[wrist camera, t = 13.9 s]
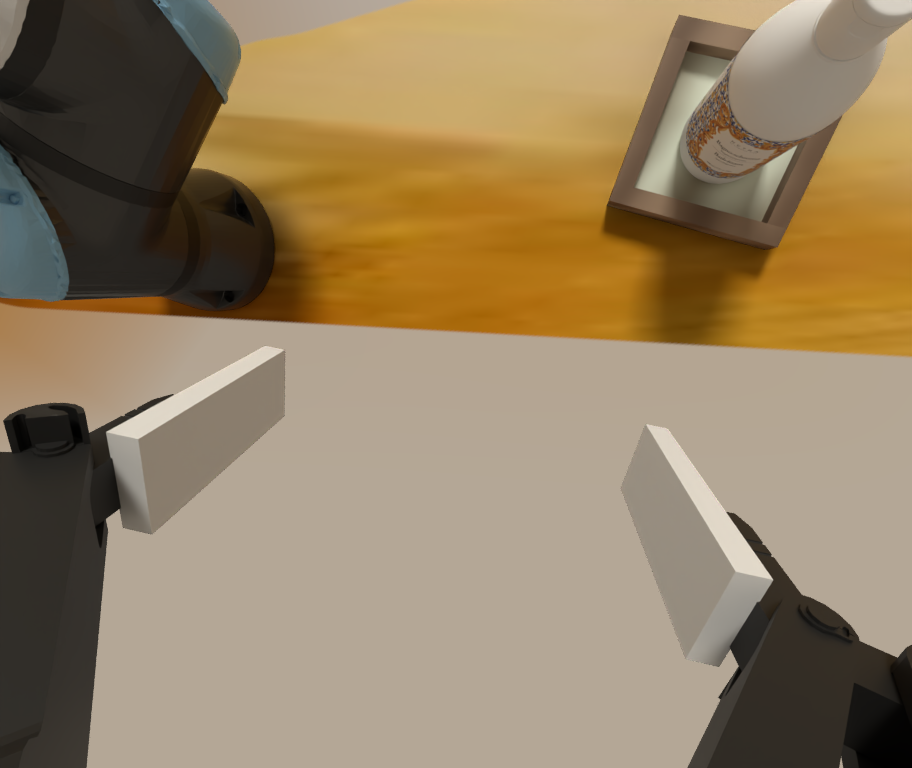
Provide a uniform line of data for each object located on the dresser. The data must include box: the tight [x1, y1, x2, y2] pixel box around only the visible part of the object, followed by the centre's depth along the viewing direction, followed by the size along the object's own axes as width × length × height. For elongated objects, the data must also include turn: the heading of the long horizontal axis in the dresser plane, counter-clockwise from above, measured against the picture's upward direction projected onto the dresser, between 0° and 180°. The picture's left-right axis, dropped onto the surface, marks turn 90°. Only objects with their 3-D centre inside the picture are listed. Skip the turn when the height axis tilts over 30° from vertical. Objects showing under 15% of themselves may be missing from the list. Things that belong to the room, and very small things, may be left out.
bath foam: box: [680, 0, 912, 184], centre depth 26 cm, size 7×7×20 cm
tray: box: [607, 15, 842, 250], centre depth 35 cm, size 14×14×2 cm
